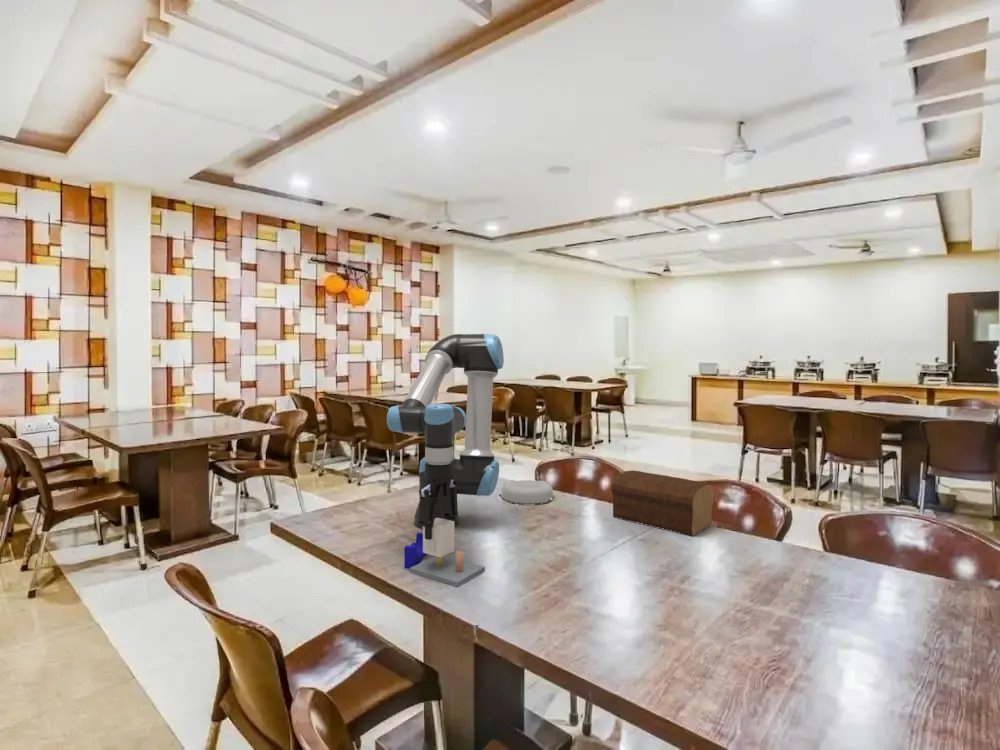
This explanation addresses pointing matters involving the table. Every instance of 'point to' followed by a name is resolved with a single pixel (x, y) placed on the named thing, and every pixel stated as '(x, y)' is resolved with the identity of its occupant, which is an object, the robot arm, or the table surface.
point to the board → (448, 569)
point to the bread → (663, 501)
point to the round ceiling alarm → (527, 491)
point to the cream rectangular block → (441, 537)
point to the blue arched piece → (414, 552)
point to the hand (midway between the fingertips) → (438, 546)
